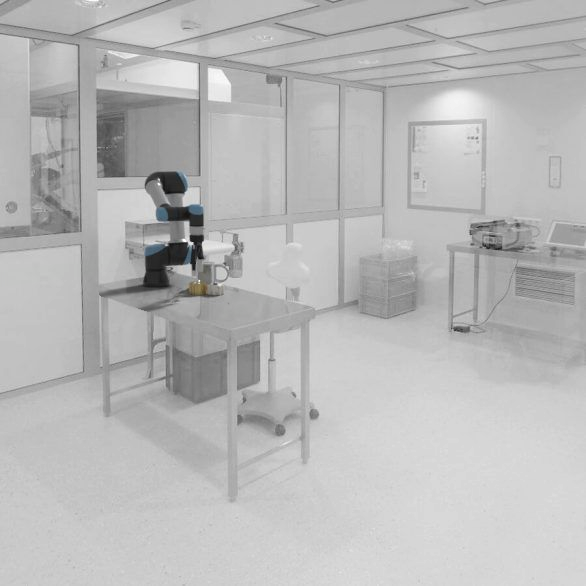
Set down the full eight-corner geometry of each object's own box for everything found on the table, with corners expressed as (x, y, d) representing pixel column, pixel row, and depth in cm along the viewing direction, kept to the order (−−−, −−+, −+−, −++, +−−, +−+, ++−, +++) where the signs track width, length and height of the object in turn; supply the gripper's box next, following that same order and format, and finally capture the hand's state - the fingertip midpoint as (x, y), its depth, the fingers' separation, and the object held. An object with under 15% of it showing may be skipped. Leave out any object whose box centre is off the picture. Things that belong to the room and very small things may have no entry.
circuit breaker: (217, 286, 376) (216, 260, 373) (211, 291, 362) (211, 264, 359) (204, 286, 377) (203, 260, 374) (198, 291, 363) (197, 264, 360)
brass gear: (191, 291, 355) (191, 280, 354) (207, 292, 355) (207, 281, 353) (187, 295, 347) (187, 283, 346) (204, 295, 346) (204, 284, 345)
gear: (209, 292, 355) (208, 281, 353) (225, 292, 354) (225, 281, 353) (205, 295, 346) (205, 284, 345) (222, 295, 345) (222, 284, 344)
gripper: (198, 237, 332) (198, 278, 337) (208, 231, 356) (209, 269, 361) (183, 237, 332) (184, 278, 337) (195, 230, 357) (195, 269, 361)
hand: (197, 274), depth 349 cm, fingers open, 13 cm apart
